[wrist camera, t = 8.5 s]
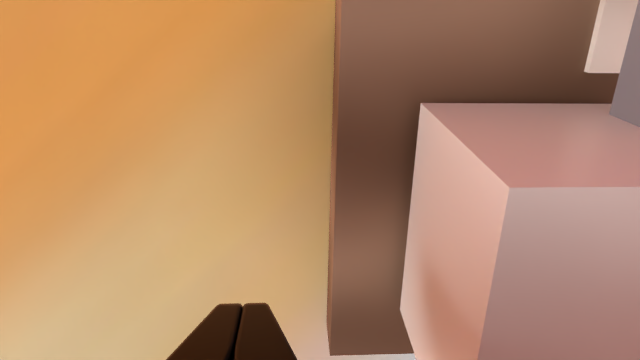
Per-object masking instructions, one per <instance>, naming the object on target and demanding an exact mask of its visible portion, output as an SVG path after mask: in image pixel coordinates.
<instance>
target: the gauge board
mask: <svg viewBox="0 0 640 360" xmlns="http://www.w3.org/2000/svg"><path fill="white" fill-rule="evenodd" d="M637 4H638V0H336V13H335V48H334V83H333V119H332V154H331V190H330V225H329V260H328V296H327V331H328V341H329V350H330V356H332V355H369V354H407V353H414V351H413V348H412V345H411V342H410V339H409V336H408V333H407V330H406V327H405V324H404V320H403V317H402V314H401V311H400V303H401V293H402V283H403V273H404V264H405V254H406V244H407V234H408V224H409V214H410V204H411V194H412V184H413V174H414V164H415V154H416V144H417V135H418V125H419V115H420V105H421V103H551V104H612V101H613V97H614V93H615V89H616V85H617V81H618V77H619V74H620V70H621V66H622V62H623V58H624V54H625V50H626V46H627V43H628V39H629V35H630V31H631V27H632V23H633V19H634V16H635V12H636V8H637Z"/></svg>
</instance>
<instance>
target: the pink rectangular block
mask: <svg viewBox="0 0 640 360" xmlns="http://www.w3.org/2000/svg"><path fill="white" fill-rule="evenodd" d="M400 311H401V314H402V317H403V320H404V324H405V327H406V330H407V333H408V336H409V339H410V342H411V345H412V348H413V351H414V354H415V357H416V360H640V0H638V4H637V8H636V12H635V16H634V19H633V23H632V27H631V31H630V35H629V39H628V43H627V46H626V50H625V54H624V58H623V62H622V66H621V70H620V74H619V77H618V81H617V85H616V89H615V93H614V97H613V101H612V104H551V103H421V105H420V115H419V125H418V135H417V144H416V154H415V164H414V174H413V184H412V194H411V204H410V214H409V224H408V234H407V244H406V254H405V264H404V273H403V283H402V293H401V303H400Z"/></svg>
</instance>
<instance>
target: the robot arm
mask: <svg viewBox="0 0 640 360" xmlns="http://www.w3.org/2000/svg"><path fill="white" fill-rule="evenodd" d="M166 360H297V358H296V356H295V355H294V353H293V351H292V349H291V347H290V345H289V343H288V341H287V339H286V337H285V336H284V334H283V332H282V330H281V328H280V326H279V324H278V322H277V320H276V318H275V317H274V315H273V313H272V311H271V309H270V307H269V305H268V304H266V303H247V304H245V305H244V306H242V305H241V304H239V303H236V304H219V305H217V306H216V307H215V308H214V309H213V310H212V311H211V312H210V313H209V315H208V316H207V317H206V318H205V319H204V320H203V321H202V322H201V323H200V324H199V325H198V326H197V327H196V328H195V329H194V331H193V332H192V333H191V334H190V335H189V336H188V337H187V338H186V339H185V340H184V341H183V342H182V343H181V344H180V345H179V347H178V348H177V349H176V350H175V351H174V352H173V353H172V354H171V355H170V356H169V357H168V358H167V359H166Z"/></svg>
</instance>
